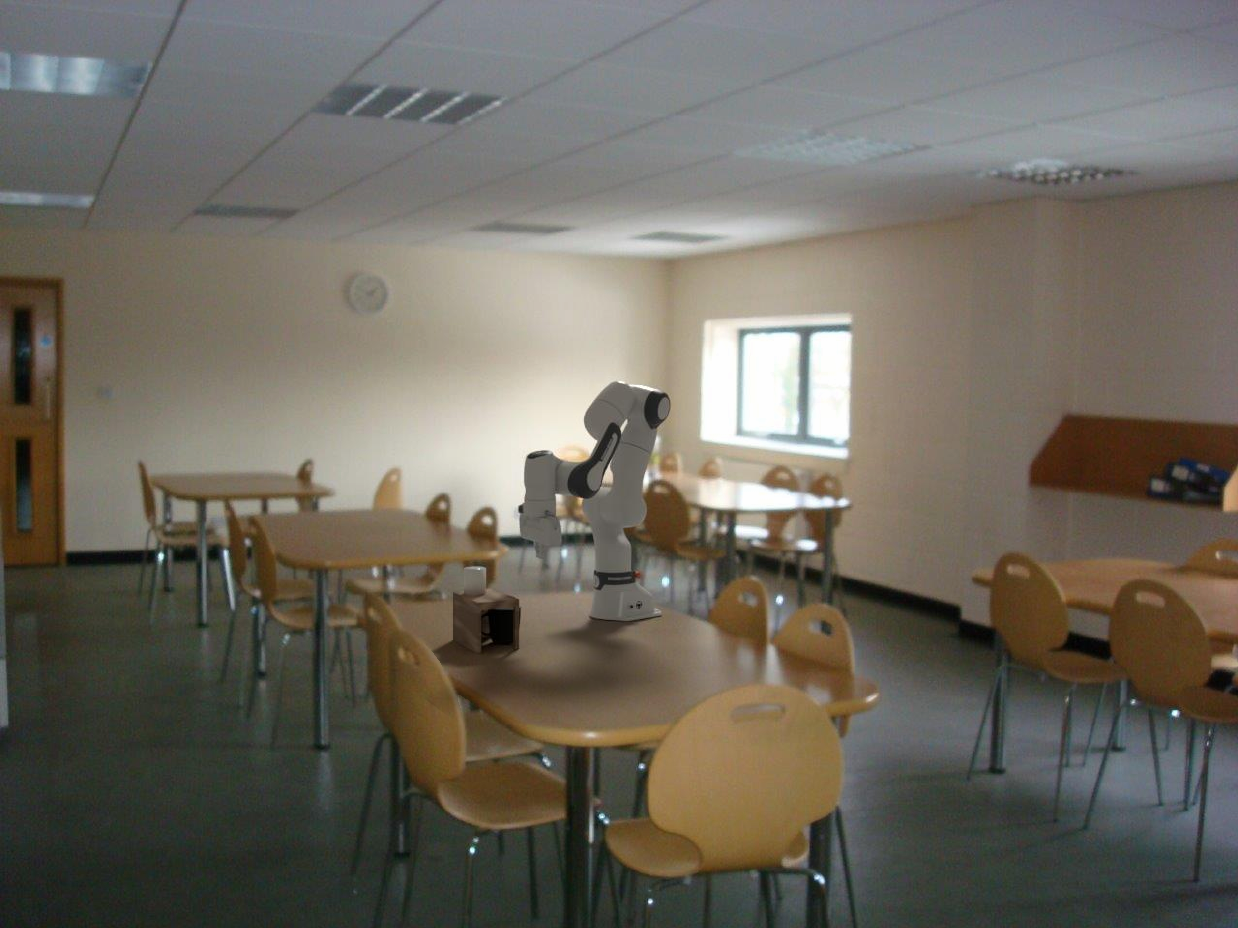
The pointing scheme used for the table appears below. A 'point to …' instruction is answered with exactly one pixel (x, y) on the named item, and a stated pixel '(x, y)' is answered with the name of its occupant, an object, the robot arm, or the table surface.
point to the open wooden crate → (470, 613)
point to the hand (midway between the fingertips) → (540, 558)
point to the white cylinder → (474, 580)
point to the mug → (501, 625)
